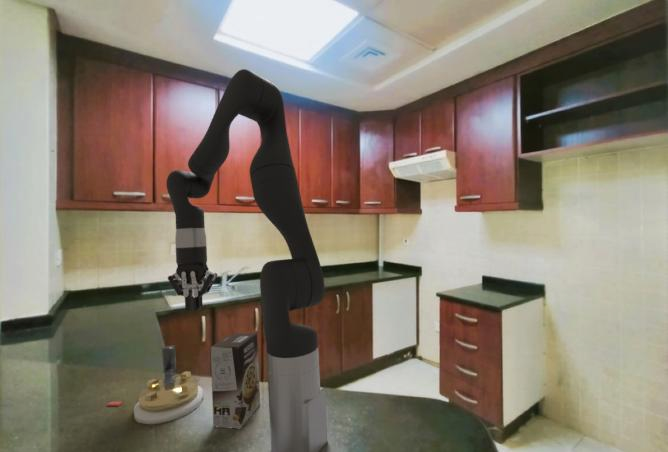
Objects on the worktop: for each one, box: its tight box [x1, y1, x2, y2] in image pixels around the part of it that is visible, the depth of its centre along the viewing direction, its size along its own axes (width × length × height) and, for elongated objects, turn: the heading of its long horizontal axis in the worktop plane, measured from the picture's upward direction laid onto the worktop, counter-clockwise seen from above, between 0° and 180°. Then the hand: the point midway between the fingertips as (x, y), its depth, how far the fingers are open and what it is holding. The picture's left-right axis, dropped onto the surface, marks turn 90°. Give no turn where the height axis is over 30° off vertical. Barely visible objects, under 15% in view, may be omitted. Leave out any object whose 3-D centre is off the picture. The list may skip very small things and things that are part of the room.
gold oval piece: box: [138, 344, 199, 412], centre depth 74 cm, size 18×12×8 cm, turn 28°
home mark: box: [106, 401, 124, 407], centre depth 73 cm, size 3×1×1 cm, turn 83°
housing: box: [133, 385, 204, 425], centre depth 71 cm, size 14×14×2 cm
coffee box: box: [210, 332, 261, 429], centre depth 66 cm, size 9×6×16 cm
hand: (194, 310), depth 83 cm, fingers closed
